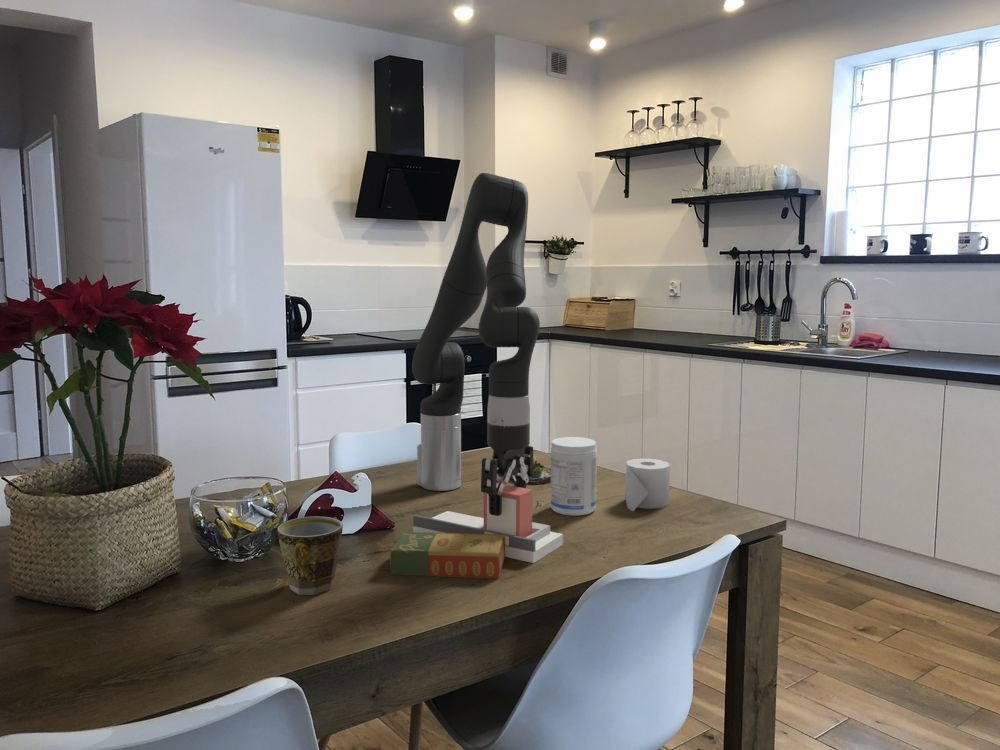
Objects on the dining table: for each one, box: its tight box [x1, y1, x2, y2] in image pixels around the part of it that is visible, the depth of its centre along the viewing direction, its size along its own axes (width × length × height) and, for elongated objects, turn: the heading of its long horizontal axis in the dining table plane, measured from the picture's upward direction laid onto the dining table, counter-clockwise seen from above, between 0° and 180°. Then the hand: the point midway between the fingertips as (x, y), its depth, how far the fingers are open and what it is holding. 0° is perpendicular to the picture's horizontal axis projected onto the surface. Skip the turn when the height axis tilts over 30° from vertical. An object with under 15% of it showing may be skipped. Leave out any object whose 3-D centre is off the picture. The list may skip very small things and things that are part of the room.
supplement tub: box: [550, 436, 598, 517], centre depth 168 cm, size 10×10×15 cm
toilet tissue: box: [624, 458, 671, 512], centre depth 172 cm, size 9×13×9 cm
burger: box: [509, 455, 551, 485], centre depth 194 cm, size 12×12×8 cm
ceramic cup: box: [277, 515, 344, 596], centre depth 126 cm, size 13×10×10 cm
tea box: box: [483, 483, 533, 538], centre depth 145 cm, size 5×8×9 cm, turn 58°
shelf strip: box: [412, 510, 564, 564], centre depth 150 cm, size 26×11×4 cm, turn 58°
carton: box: [389, 531, 506, 580], centre depth 137 cm, size 10×18×5 cm, turn 84°
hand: (508, 508), depth 145 cm, fingers open, 8 cm apart
